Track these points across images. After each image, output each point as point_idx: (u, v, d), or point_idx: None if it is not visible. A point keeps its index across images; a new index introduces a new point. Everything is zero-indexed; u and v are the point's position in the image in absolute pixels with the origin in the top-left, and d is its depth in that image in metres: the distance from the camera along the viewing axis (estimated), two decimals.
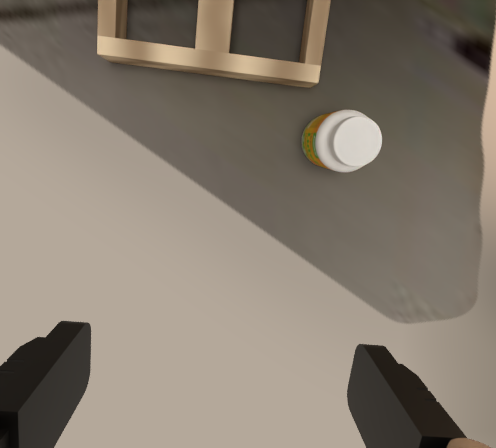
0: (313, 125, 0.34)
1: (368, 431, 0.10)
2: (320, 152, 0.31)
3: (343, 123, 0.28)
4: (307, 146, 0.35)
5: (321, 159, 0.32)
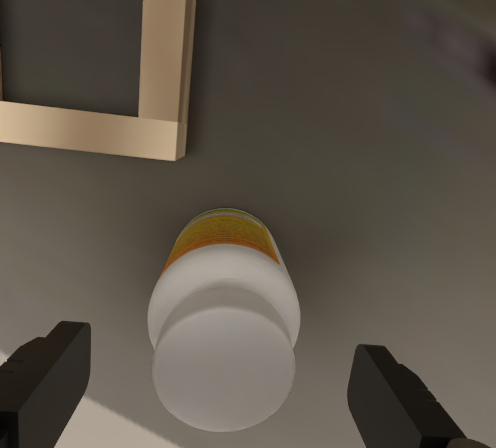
0: (171, 253, 0.15)
1: (368, 431, 0.10)
2: None
3: (174, 329, 0.09)
4: None
5: None
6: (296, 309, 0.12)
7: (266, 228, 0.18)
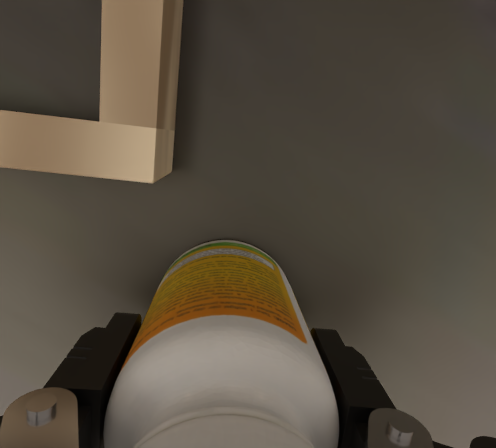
0: (148, 310, 0.11)
1: None
2: None
3: None
4: None
5: None
6: (335, 419, 0.08)
7: (278, 267, 0.14)
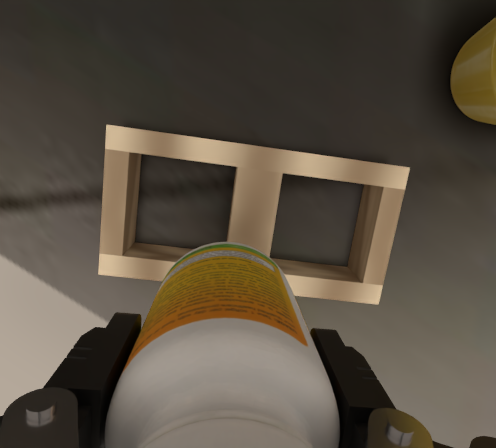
0: (149, 312, 0.11)
1: None
2: None
3: None
4: None
5: None
6: (336, 421, 0.08)
7: (279, 269, 0.14)
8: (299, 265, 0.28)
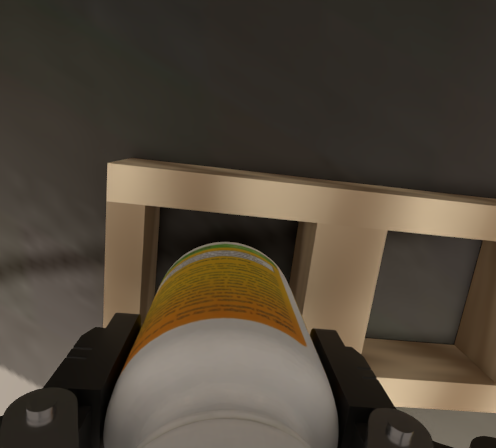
0: (148, 313, 0.11)
1: None
2: None
3: None
4: None
5: None
6: (334, 422, 0.08)
7: (278, 269, 0.14)
8: (392, 351, 0.19)
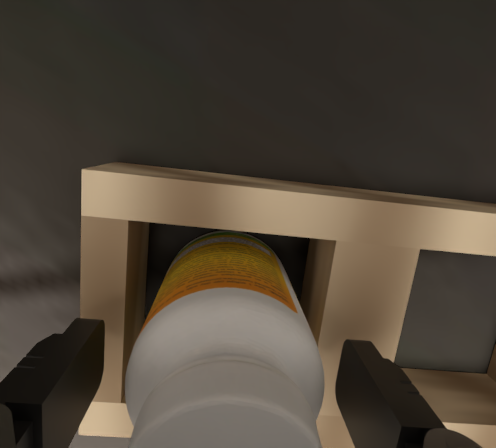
0: (159, 290, 0.12)
1: (353, 424, 0.10)
2: None
3: (153, 429, 0.06)
4: None
5: None
6: (320, 375, 0.09)
7: (275, 255, 0.15)
8: (418, 384, 0.17)
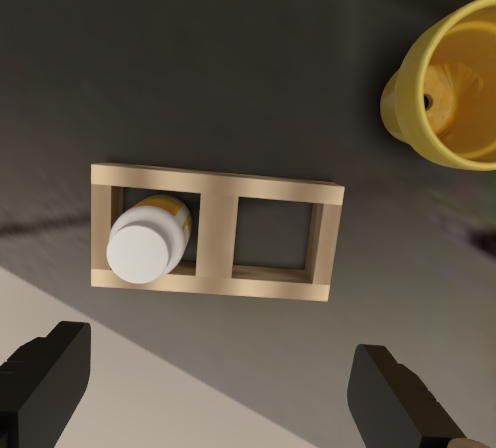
0: None
1: (368, 431, 0.10)
2: None
3: (115, 235, 0.23)
4: None
5: None
6: (179, 235, 0.26)
7: (183, 205, 0.31)
8: (261, 271, 0.33)
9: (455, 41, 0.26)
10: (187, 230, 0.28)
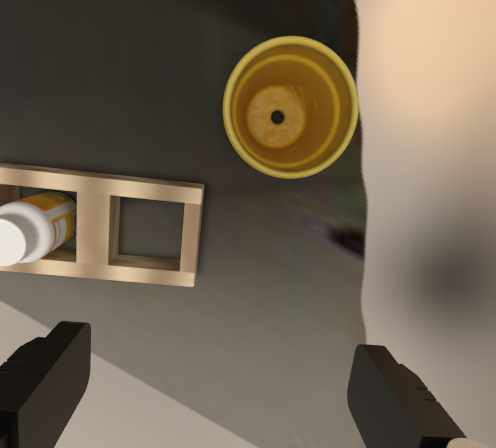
0: None
1: (368, 431, 0.10)
2: None
3: None
4: None
5: None
6: (45, 227, 0.31)
7: (71, 201, 0.36)
8: (142, 260, 0.38)
9: (282, 68, 0.31)
10: (63, 223, 0.33)
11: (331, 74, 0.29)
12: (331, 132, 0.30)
